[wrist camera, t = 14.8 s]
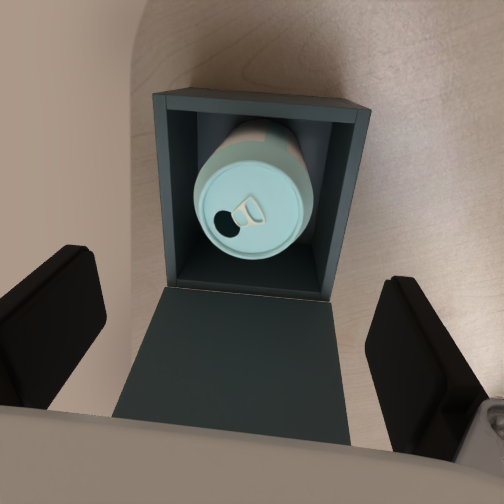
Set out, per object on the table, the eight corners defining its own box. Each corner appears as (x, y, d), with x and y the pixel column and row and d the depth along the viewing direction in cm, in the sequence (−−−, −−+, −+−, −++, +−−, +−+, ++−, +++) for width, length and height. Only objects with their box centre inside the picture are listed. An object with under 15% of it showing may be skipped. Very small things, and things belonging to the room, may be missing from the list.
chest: (189, 87, 27) (151, 93, 19) (344, 98, 26) (372, 109, 18) (193, 237, 33) (167, 286, 25) (317, 248, 33) (329, 302, 25)
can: (280, 212, 30) (280, 286, 20) (209, 181, 29) (170, 241, 19) (317, 140, 27) (341, 183, 16) (238, 102, 26) (211, 123, 16)
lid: (63, 530, 14) (94, 553, 17) (368, 568, 13) (341, 585, 16) (164, 286, 25) (171, 328, 28) (331, 302, 24) (319, 342, 27)
